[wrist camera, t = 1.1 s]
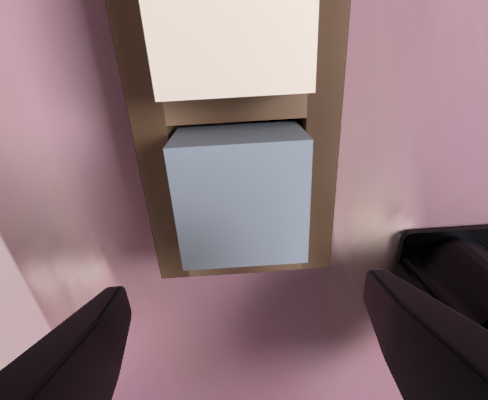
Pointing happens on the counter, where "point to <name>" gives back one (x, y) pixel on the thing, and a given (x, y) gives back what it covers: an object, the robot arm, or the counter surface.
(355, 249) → the counter surface
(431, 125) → the counter surface
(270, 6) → the button cream
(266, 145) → the button slate
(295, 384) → the counter surface
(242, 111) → the wooden compartment tray
